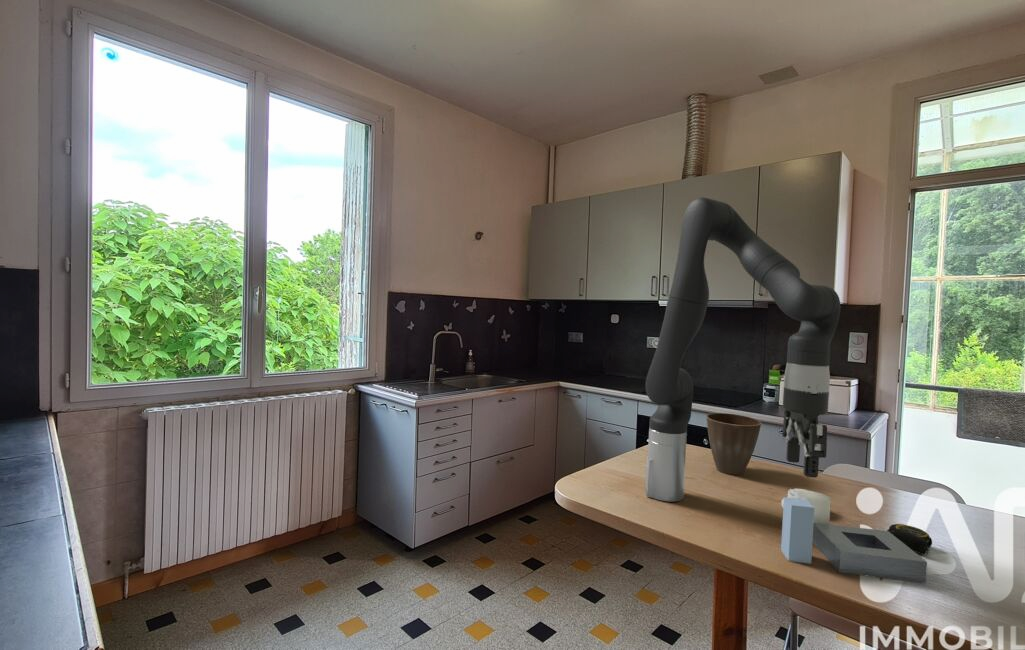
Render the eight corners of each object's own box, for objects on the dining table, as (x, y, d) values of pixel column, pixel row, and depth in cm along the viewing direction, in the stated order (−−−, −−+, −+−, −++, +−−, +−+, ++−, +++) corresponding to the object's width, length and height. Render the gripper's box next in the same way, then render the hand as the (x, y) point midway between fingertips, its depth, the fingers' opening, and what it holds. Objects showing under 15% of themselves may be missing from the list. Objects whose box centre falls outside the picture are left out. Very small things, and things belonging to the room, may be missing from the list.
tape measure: (882, 544, 99) (883, 527, 99) (894, 536, 103) (895, 519, 103) (924, 559, 93) (925, 541, 93) (935, 550, 97) (936, 532, 97)
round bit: (802, 536, 101) (804, 499, 101) (792, 523, 107) (794, 489, 107) (833, 539, 100) (835, 503, 100) (821, 527, 106) (823, 492, 106)
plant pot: (764, 471, 142) (766, 419, 142) (750, 484, 131) (753, 428, 130) (713, 459, 152) (715, 410, 151) (696, 470, 141) (699, 418, 140)
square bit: (788, 560, 91) (791, 505, 91) (781, 550, 95) (784, 497, 95) (811, 563, 90) (814, 507, 90) (802, 553, 94) (805, 499, 94)
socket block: (839, 572, 87) (840, 551, 87) (811, 541, 99) (812, 522, 99) (925, 583, 85) (927, 561, 85) (886, 550, 96) (888, 531, 96)
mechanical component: (790, 517, 111) (836, 522, 109) (791, 499, 111) (838, 504, 109) (775, 500, 121) (818, 505, 119) (776, 483, 121) (819, 488, 119)
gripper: (772, 380, 99) (768, 456, 100) (799, 392, 85) (794, 480, 86) (811, 382, 98) (806, 459, 98) (845, 395, 84) (840, 484, 84)
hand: (801, 468), depth 92 cm, fingers open, 8 cm apart
